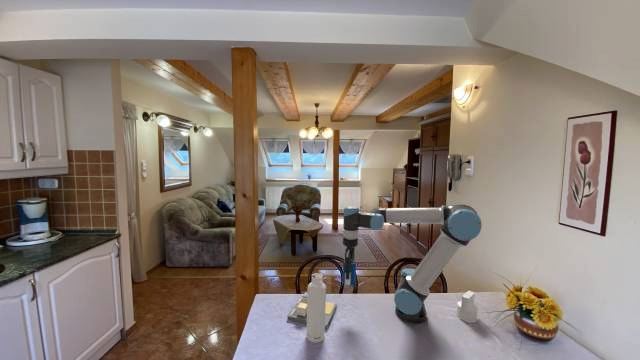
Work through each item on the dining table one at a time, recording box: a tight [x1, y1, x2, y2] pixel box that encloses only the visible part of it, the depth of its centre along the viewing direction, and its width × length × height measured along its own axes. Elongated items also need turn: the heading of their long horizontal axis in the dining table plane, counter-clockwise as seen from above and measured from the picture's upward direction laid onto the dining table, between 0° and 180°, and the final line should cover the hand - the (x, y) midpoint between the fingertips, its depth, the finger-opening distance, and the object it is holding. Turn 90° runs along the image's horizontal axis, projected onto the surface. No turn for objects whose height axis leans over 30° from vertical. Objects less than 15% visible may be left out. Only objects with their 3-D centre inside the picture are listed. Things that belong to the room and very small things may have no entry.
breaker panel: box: [287, 296, 338, 330], centre depth 131 cm, size 20×18×2 cm
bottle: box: [305, 272, 327, 343], centre depth 114 cm, size 8×8×28 cm
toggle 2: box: [302, 291, 308, 304], centre depth 137 cm, size 4×4×4 cm
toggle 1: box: [297, 302, 307, 316], centre depth 127 cm, size 4×4×4 cm
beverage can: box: [342, 259, 357, 287], centre depth 132 cm, size 6×6×12 cm
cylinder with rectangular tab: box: [456, 290, 479, 323], centre depth 132 cm, size 9×9×12 cm
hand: (349, 281), depth 132 cm, fingers closed on beverage can, 6 cm apart
